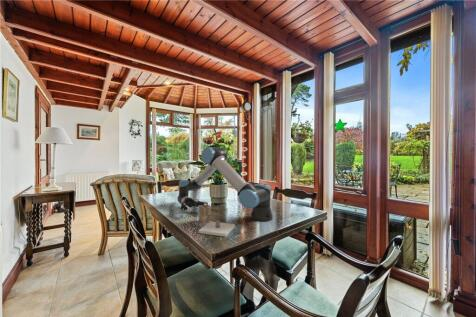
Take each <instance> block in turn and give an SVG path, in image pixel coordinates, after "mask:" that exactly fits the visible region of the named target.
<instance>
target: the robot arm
mask: <svg viewBox="0 0 476 317" xmlns="http://www.w3.org/2000/svg"><path fill="white" fill-rule="evenodd" d="M200 155H201V157H200V159H201V162H202V163H203V164H206V167H205V168H204V169H203V170H202V171H201V172H200V173H199V174H198V175H197V176H196V177H195V178H194V179H193V180H192V181H191V180H190V181H189V180H188V179H180V180H179V181H178V196H177V197H176V198H177V199H176V200H177V202H178V203H179V204H180V210H183V211H187V212H188V213H191V208H193V207H199V205H206V204H208V205H209V203H208V202H207V201H201V200H197V201H195V199H194V198H192V197H190V196H189V192H190V191H196V190H200V189H202V188H203V184H204V183H205V182H206V181H207V180H208V179H209V178H210V177H211V176H212V175H213V174H214V173H215V172H216V171H218V172H219V173H220V175H221V176H222V177H223V178H224V179H225V180H226V181H227V182H228V184H229V185H230V186H231V187H232V188H233V189H234V190H235V191H236V192H237V193H236V195H237V197H238V200H239V203H240V205H241V206H243V207H244V208H246V209H252V210H251V212H250V219H251V220H254V221H257V222H269V220H270V221H272V220H273V219H274V217H273V212H272V208H271V200H272V199H271V196H272V190H271V188H272V187H271V186H270V185H269V184H268V185H267V184H259V183H258V184H257V183H254V184H252V183H251V182H247V181H246V180H245V179H244V178H243V177H242V176H241V175H240V174H239V173H238V172H237V171H236V170H235V168H233V166H232V165H230V164H229V162H227V160H228V152H227V150H226V149H224V148H223V147H213V146H209V147H208V146H207V147H204V148H203V150H202V151H201V154H200Z"/></svg>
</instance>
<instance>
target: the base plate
mask: <svg viewBox="0 0 476 317" xmlns="http://www.w3.org/2000/svg"><path fill="white" fill-rule="evenodd" d="M235 227H236V224H235V223H226V222H220V220H215V221H210V222H208V223H205V225H204V226H202V227H201V228H200V229H198V234H204V235H209V236H219V237H226V238H227V236H228V235H229V234H230V233H231V232H232V231H233V230H234V229H235Z"/></svg>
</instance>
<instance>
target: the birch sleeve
mask: <svg viewBox="0 0 476 317" xmlns="http://www.w3.org/2000/svg"><path fill="white" fill-rule="evenodd" d="M212 210H213V208H212V205H210V204H209V203H208V204H206V205H199V206H198V221H199V222H200V223H202V224H208V223H209V222H210V221H212V217H213V216H212V215H213V214H212V213H213V211H212ZM212 222H213V221H212Z"/></svg>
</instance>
